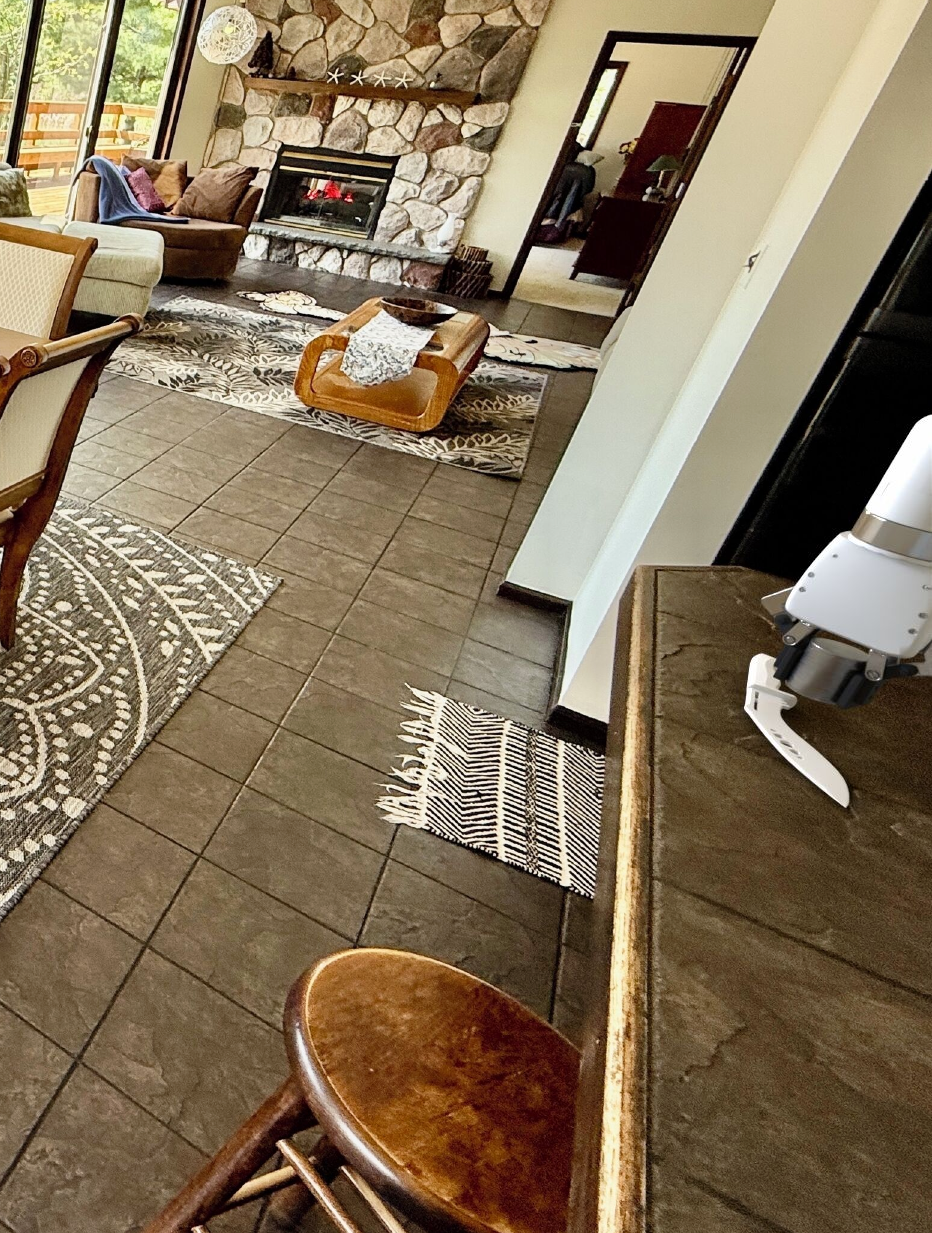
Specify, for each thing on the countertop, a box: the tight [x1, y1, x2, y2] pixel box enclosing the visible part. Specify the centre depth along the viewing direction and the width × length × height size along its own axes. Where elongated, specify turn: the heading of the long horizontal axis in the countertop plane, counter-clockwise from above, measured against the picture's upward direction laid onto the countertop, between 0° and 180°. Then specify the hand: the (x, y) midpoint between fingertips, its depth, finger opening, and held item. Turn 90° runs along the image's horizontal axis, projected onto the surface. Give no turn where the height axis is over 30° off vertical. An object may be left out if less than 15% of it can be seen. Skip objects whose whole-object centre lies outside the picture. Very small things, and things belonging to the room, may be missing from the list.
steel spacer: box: [785, 637, 869, 706], centre depth 94 cm, size 4×4×6 cm
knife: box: [744, 653, 850, 809], centre depth 97 cm, size 30×2×8 cm
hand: (815, 690), depth 95 cm, fingers closed on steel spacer, 4 cm apart
